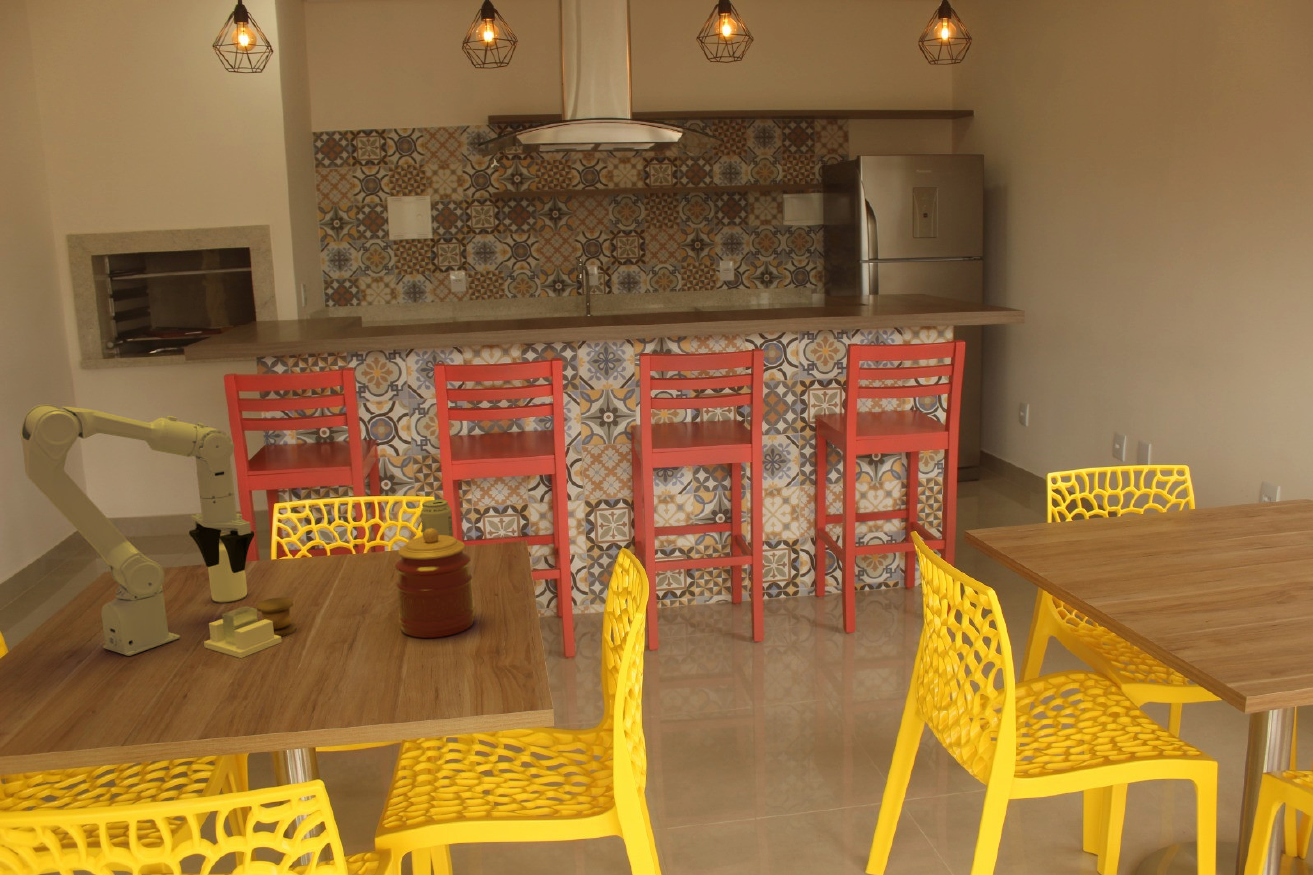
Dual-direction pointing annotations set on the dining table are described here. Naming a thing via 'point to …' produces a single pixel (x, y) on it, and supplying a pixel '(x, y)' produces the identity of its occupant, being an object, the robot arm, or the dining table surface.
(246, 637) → the notch board
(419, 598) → the canister
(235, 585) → the can
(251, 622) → the tab
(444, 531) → the energy drink can
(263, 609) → the bobbin
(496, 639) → the dining table surface
